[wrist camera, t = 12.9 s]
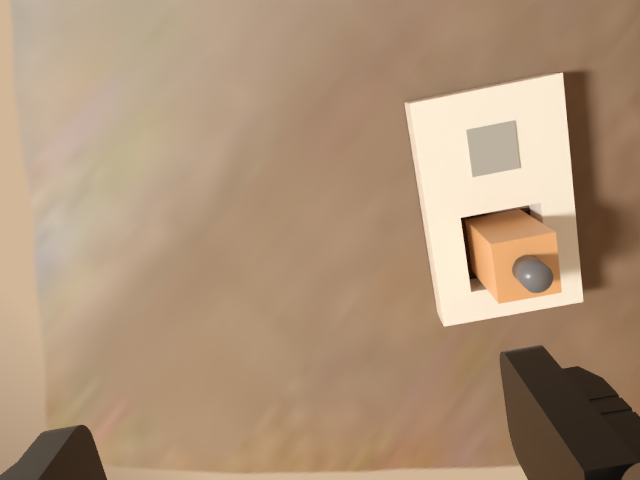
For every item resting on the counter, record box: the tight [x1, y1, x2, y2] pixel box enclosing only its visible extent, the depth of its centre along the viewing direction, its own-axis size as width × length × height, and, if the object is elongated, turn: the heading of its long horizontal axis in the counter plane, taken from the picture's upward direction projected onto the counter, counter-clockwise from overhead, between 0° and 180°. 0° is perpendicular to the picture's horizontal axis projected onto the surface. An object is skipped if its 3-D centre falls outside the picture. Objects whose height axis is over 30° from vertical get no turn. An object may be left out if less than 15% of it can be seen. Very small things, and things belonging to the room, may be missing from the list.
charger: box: [465, 209, 562, 304], centre depth 39 cm, size 4×4×9 cm
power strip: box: [405, 73, 583, 327], centre depth 41 cm, size 16×10×3 cm, turn 11°
